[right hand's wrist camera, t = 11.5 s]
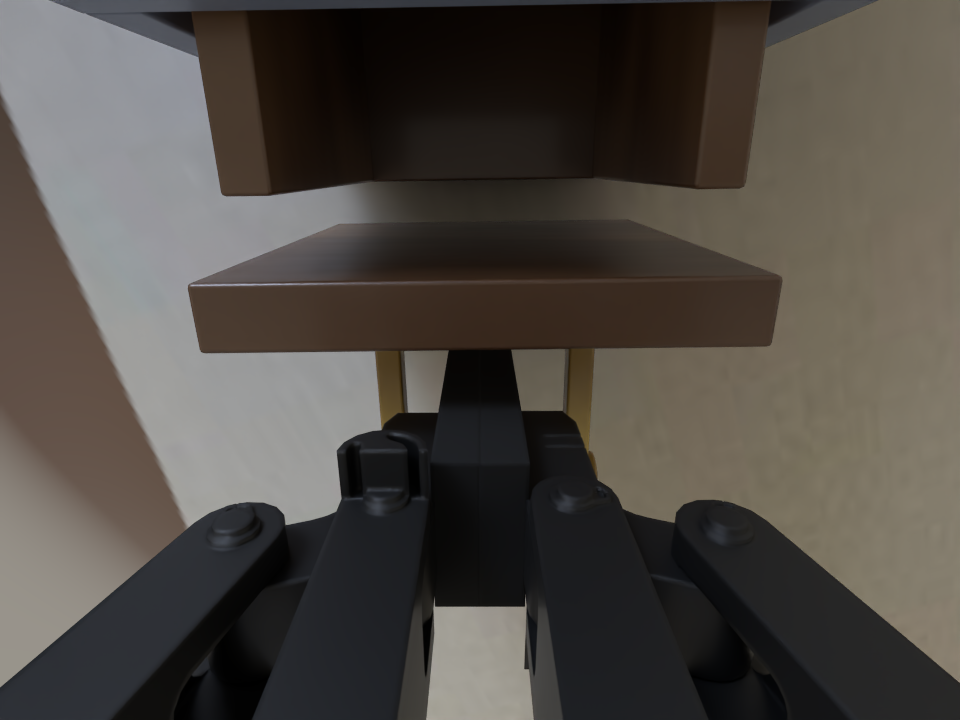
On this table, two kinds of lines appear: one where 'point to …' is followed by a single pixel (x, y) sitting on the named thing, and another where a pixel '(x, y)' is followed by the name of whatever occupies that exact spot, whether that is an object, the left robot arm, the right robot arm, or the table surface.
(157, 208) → the table surface
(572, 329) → the drawer
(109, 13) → the cabinet
